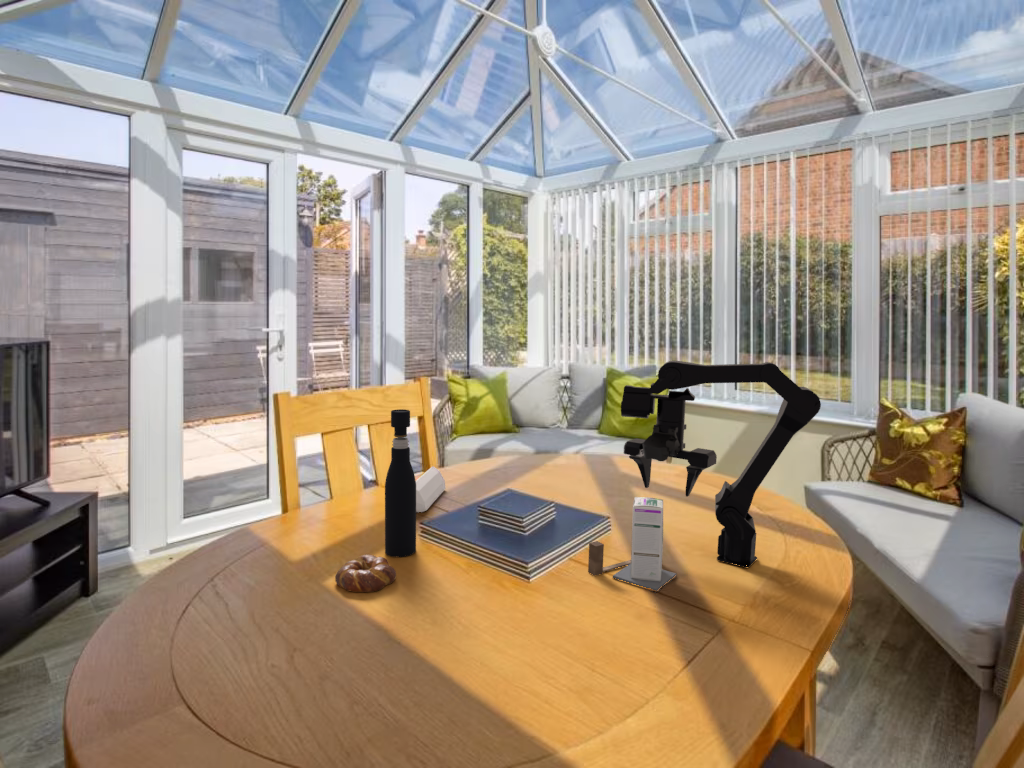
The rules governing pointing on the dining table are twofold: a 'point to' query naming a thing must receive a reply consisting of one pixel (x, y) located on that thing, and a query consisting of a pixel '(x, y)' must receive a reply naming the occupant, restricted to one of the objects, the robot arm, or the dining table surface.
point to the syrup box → (647, 539)
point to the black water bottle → (400, 492)
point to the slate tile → (655, 585)
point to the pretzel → (365, 574)
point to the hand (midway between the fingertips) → (666, 491)
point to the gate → (600, 559)
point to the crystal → (428, 488)
